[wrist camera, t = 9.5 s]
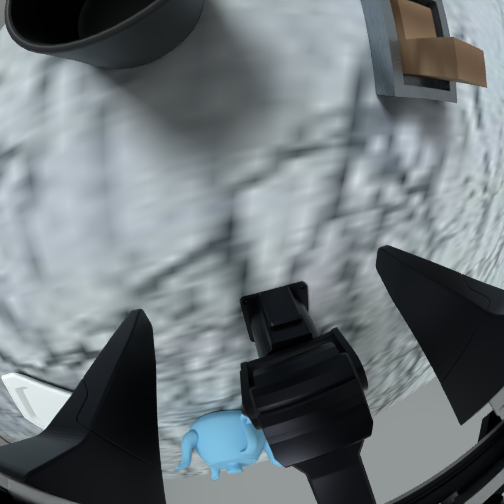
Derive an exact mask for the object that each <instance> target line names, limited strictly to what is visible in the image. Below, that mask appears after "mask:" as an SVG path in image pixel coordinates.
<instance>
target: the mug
mask: <svg viewBox="0 0 504 504" xmlns="http://www.w3.org/2000/svg"><path fill="white" fill-rule="evenodd" d="M203 2H204V0H6V6H5V23H6V27H7V30H8V32H9V34H10V36H11V38H12V39H13V40H14V41H15V42H16V43H17V44H18V45H19V46H21V47H22V48H24V49H26V50H28V51H32V52H36V53H41V54H46V55H52V56H57V57H61V58H66V59H71V60H75V61H79V62H83V63H87V64H91V65H94V66H98V67H102V68H107V69H126V68H132V67H136V66H140V65H144V64H146V63H149V62H152V61H154V60H156V59H158V58H160V57H162V56H163V55H165V54H167V53H168V52H170V51H171V50H173V49H174V48H175V47H176V46H178V45H179V44H180V43H181V42H182V41H183V40H184V39H185V38H186V37H187V36H188V35H189V34H190V32H191V31H192V30H193V28H194V27H195V25H196V23H197V22H198V20H199V18H200V15H201V12H202V8H203Z"/></svg>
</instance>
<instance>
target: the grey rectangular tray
mask: <svg viewBox="0 0 504 504" xmlns="http://www.w3.org/2000/svg"><path fill="white" fill-rule="evenodd" d="M408 1H411V2H414V3H417V4H420V5H422V6H425V7H427V8H430V9H431V13H432V17H433V22H434V27H435V32H436V37H450V34H449V29H448V24H447V19H446V15H445V11H444V7H443V3H442V0H408ZM361 3H362V8H363V12H364V16H365V21H366V26H367V31H368V36H369V42H370V48H371V55H372V61H373V69H374V77H375V86H376V94H378V95H387V96H395V97H410V98H422V99H431V100H440V101H447V102H454V103H457V93H456V82H453V81H446V80H438V79H428V78H422V77H416V76H409V75H403V71H402V63H401V56H400V49H399V43H398V37H397V31H396V26H395V21H394V17H393V12H392V8H391V4H390V0H361Z"/></svg>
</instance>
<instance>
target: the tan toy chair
mask: <svg viewBox="0 0 504 504" xmlns="http://www.w3.org/2000/svg"><path fill="white" fill-rule="evenodd" d="M390 4H391V8H392V12H393V17H394V21H395V26H396V31H397V37H398V43H399V49H400V56H401V63H402V71H403V75H409V76H416V77H422V78H428V79H438V80H446V81H453V82H460V83H466V84H471V85H476V86H481V87H486V88H487V82H486V70H485V61H484V53H483V51H482V50H481V49H479V48H476V47H474V46H472V45H470V44H468V43H466V42H464V41H461V40H459V39H457V38H454V37H436V32H435V27H434V22H433V17H432V13H431V9H430V8H427V7H425V6H422V5H420V4H417V3H414V2H411V1H408V0H390Z"/></svg>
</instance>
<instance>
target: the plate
mask: <svg viewBox="0 0 504 504" xmlns="http://www.w3.org/2000/svg"><path fill="white" fill-rule="evenodd" d="M2 380H3V382H4V384H5V386H6V387H7V389H8V391H9V393H10V394H11V396H12V398H13V400H14V401H15V403H16V405H17V406H18V408H19V409H20V411H21V412H22V414H23V416H24V417H25V418H26V419H28V420H29V421H31V422H32V423H34V424H35V425H37V426H39V427H40V428H42V429H44V430H45V429H46V427H47V426H48V425H49V424H50V422H51V421H52V420H53V418H54V417H55V416H56V414H57V413H58V412H59V410H60V409H61V408H62V407H63V405H64V404H65V403H66V401H67V400H68V399H69V397H70V396H71V394H72V393H73V392H71V391H68V390H64V389H61V388H58V387H56V386H53V385H50V384H47V383H44V382H42V381H39V380H37V379H34V378H32V377H29V376H26V375H22V374H18V373H15V372H12V373H8V374H5V375H2Z"/></svg>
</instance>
